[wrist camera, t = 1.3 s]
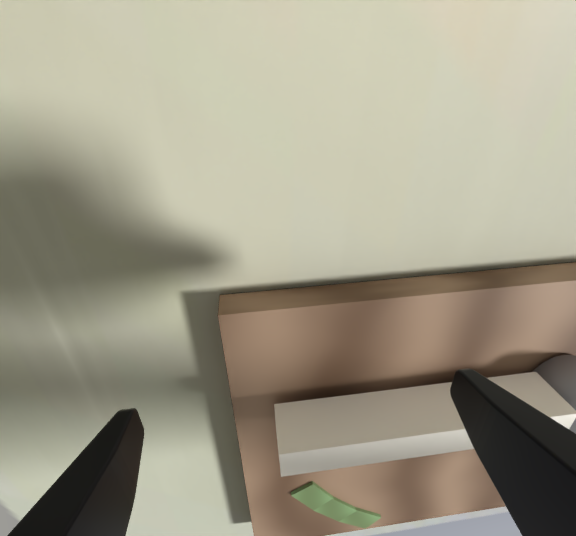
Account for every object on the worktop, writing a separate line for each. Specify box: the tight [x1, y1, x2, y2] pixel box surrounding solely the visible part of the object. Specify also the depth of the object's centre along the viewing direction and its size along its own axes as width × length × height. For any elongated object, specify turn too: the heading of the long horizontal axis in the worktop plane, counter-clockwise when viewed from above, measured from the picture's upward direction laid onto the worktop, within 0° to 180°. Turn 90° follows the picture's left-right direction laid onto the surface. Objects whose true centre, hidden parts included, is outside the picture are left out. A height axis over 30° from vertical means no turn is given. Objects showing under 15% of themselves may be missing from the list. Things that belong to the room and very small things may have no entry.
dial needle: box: [274, 355, 576, 477], centre depth 16 cm, size 16×3×3 cm, turn 92°
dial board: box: [218, 262, 576, 536], centre depth 20 cm, size 22×20×2 cm
